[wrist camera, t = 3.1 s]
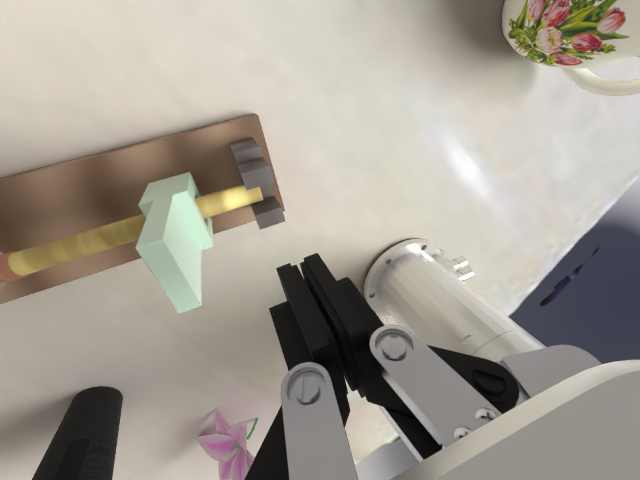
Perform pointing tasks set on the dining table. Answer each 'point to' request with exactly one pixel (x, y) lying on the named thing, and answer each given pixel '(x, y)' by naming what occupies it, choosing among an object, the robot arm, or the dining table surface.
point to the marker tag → (175, 238)
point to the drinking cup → (85, 438)
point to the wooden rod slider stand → (127, 202)
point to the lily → (229, 448)
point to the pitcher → (576, 37)
